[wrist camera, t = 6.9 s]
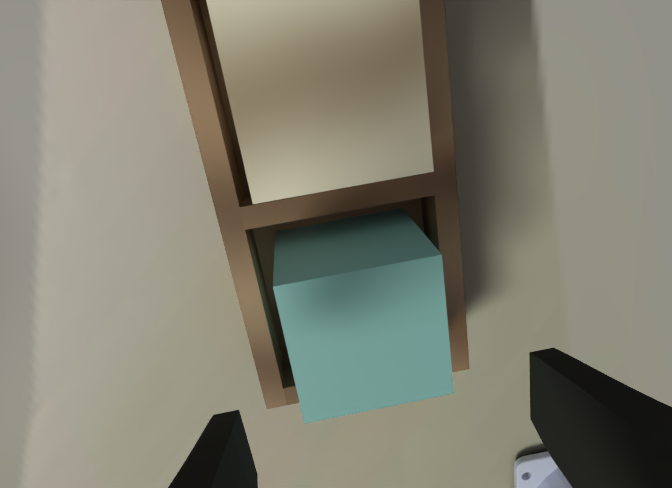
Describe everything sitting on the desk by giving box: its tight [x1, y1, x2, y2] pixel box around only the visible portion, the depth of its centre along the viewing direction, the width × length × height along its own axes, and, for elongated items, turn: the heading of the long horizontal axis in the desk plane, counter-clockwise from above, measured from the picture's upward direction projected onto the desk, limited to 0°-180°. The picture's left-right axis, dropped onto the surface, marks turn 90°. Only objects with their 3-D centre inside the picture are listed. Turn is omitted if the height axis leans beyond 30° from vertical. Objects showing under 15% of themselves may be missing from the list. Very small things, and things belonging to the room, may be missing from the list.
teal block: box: [273, 208, 454, 424], centre depth 17 cm, size 5×5×5 cm
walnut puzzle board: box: [161, 0, 469, 409], centre depth 16 cm, size 16×8×6 cm, turn 9°
